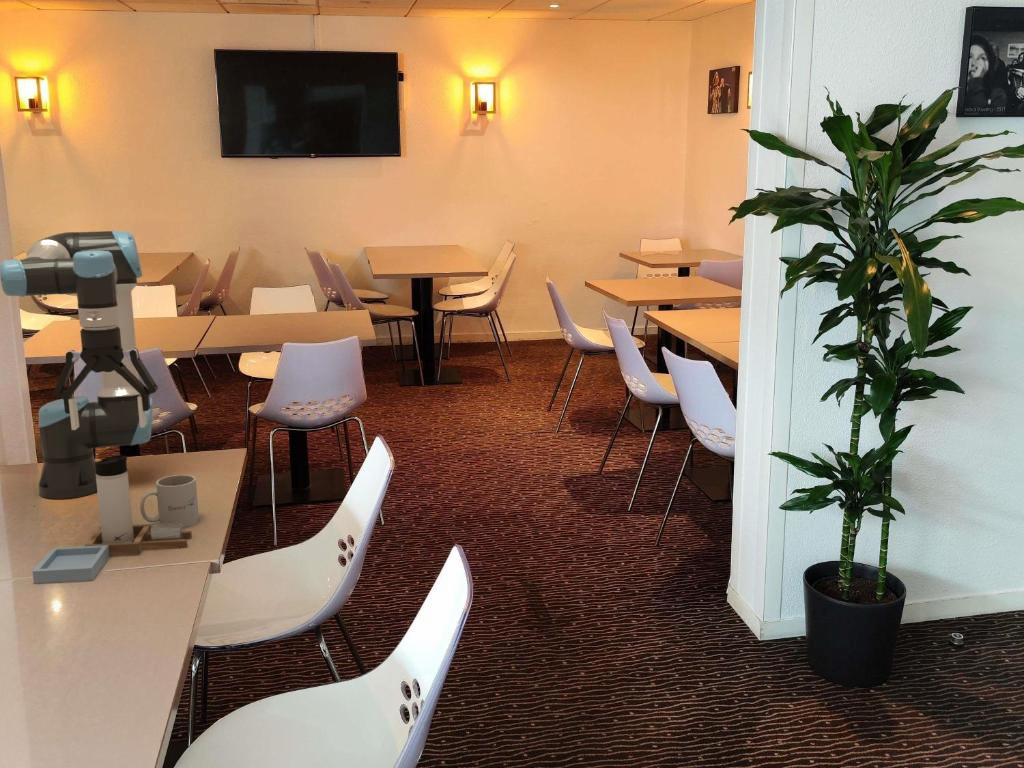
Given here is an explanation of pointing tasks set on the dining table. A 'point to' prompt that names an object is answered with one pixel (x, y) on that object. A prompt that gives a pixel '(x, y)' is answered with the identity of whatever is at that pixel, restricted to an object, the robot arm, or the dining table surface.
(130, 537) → the travel mug
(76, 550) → the tray
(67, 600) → the dining table surface
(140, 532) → the brown flat open frame
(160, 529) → the light gray block
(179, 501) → the mug
